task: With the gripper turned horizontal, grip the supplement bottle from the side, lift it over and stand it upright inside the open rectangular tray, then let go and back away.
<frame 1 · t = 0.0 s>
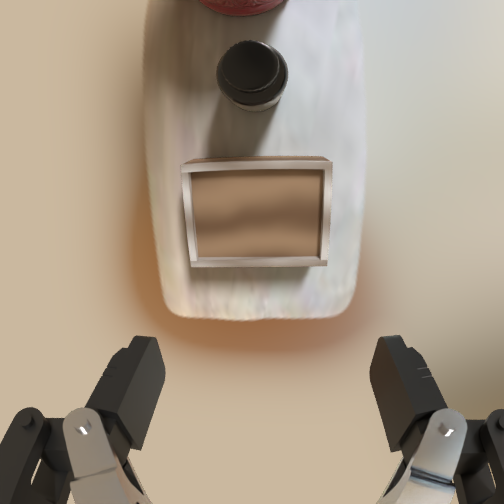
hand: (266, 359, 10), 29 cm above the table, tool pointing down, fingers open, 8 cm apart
supplement bottle: (255, 85, 32), on the table
open rectangular tray: (258, 203, 38), on the table
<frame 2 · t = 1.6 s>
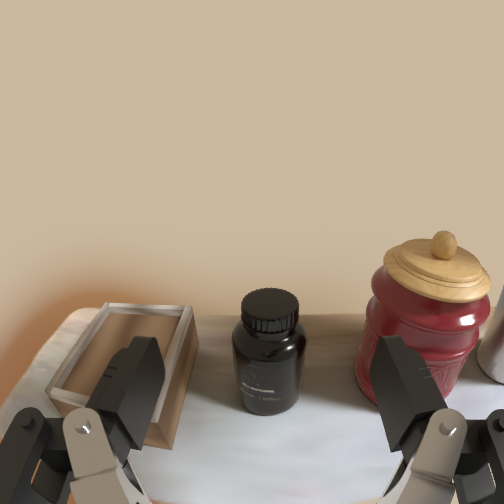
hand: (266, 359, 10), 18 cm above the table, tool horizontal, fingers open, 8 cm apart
supplement bottle: (269, 394, 29), on the table
canister: (403, 375, 29), on the table
open rectangular tray: (137, 384, 30), on the table
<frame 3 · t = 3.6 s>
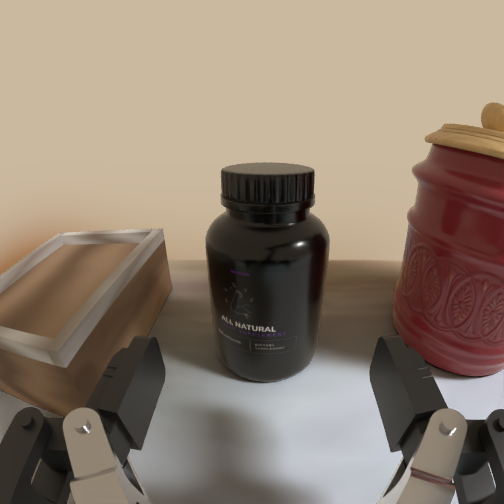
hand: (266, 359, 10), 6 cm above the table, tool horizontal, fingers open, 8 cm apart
supplement bottle: (267, 351, 20), on the table
canister: (457, 328, 20), on the table
open rectangular tray: (80, 334, 20), on the table
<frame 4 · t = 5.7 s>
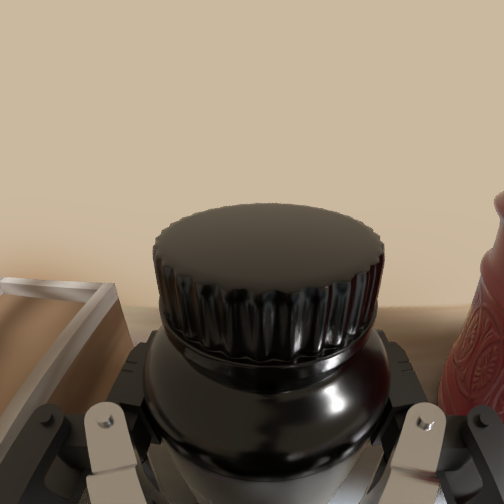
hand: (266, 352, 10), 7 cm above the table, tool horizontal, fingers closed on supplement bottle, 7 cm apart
supplement bottle: (265, 477, 11), on the table, touching gripper
open rectangular tray: (23, 421, 12), on the table
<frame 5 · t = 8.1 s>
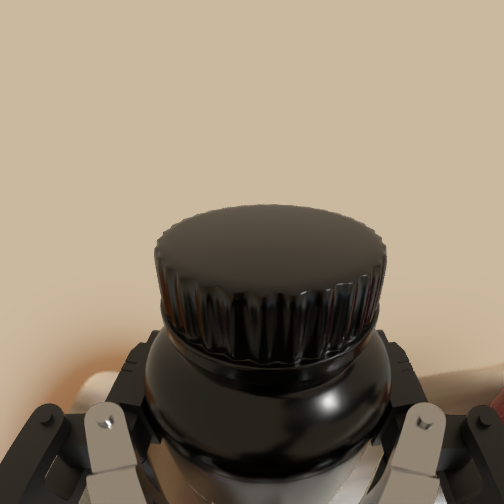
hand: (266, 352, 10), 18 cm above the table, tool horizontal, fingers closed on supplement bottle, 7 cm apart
supplement bottle: (266, 478, 11), point 11 cm above the table, touching gripper
when the fingers open (13 cm above the table, at t = 10.4 s): supplement bottle drops 1 cm, resting on open rectangular tray.
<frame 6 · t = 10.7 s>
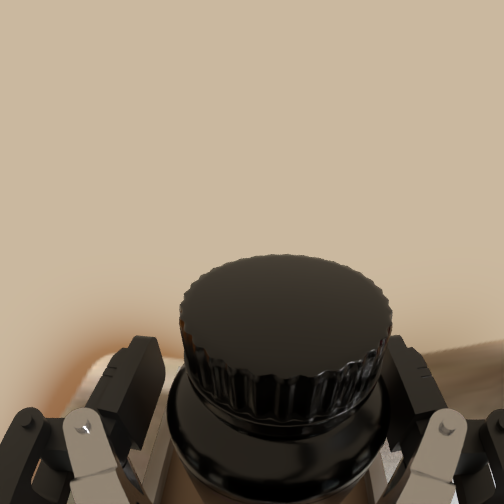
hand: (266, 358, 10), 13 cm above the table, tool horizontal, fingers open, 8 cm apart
supplement bottle: (272, 489, 11), point 5 cm above the table, touching open rectangular tray
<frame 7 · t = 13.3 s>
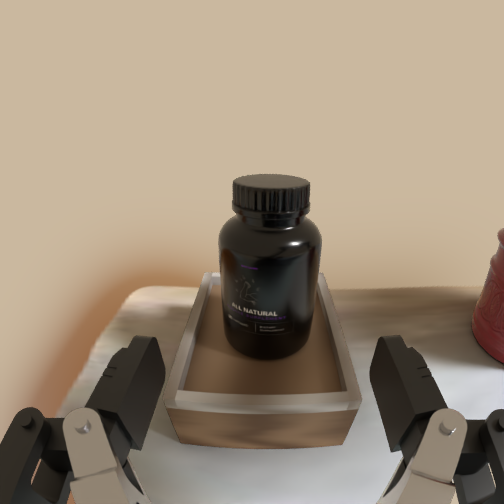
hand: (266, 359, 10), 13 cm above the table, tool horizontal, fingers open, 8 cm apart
supplement bottle: (268, 335, 23), point 5 cm above the table, touching open rectangular tray
open rectangular tray: (263, 373, 25), on the table
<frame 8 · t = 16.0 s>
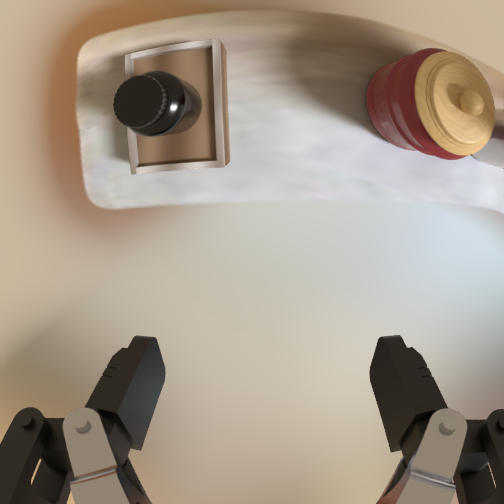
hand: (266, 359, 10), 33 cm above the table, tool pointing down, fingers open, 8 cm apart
supplement bottle: (176, 107, 32), point 5 cm above the table, touching open rectangular tray
canister: (403, 105, 35), on the table
open rectangular tray: (184, 108, 36), on the table
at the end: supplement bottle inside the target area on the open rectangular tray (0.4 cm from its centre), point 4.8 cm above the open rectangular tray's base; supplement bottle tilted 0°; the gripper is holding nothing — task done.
